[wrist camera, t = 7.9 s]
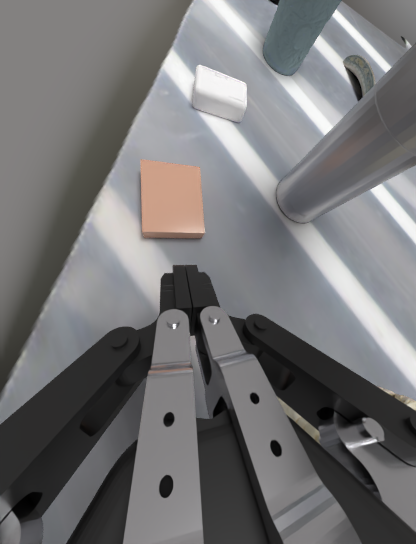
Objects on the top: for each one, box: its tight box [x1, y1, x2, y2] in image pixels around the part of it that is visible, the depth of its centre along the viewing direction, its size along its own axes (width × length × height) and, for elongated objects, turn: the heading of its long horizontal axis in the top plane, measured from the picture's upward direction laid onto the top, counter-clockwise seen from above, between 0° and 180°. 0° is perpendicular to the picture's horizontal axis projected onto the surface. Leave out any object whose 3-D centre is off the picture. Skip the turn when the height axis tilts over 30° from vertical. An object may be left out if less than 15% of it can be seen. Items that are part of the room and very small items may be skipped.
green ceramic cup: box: [263, 0, 342, 75], centre depth 29 cm, size 10×10×12 cm
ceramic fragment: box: [343, 55, 375, 97], centre depth 39 cm, size 14×5×4 cm, turn 14°
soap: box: [193, 65, 247, 123], centre depth 27 cm, size 9×6×3 cm, turn 87°
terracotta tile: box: [141, 159, 205, 238], centre depth 23 cm, size 2×8×10 cm
